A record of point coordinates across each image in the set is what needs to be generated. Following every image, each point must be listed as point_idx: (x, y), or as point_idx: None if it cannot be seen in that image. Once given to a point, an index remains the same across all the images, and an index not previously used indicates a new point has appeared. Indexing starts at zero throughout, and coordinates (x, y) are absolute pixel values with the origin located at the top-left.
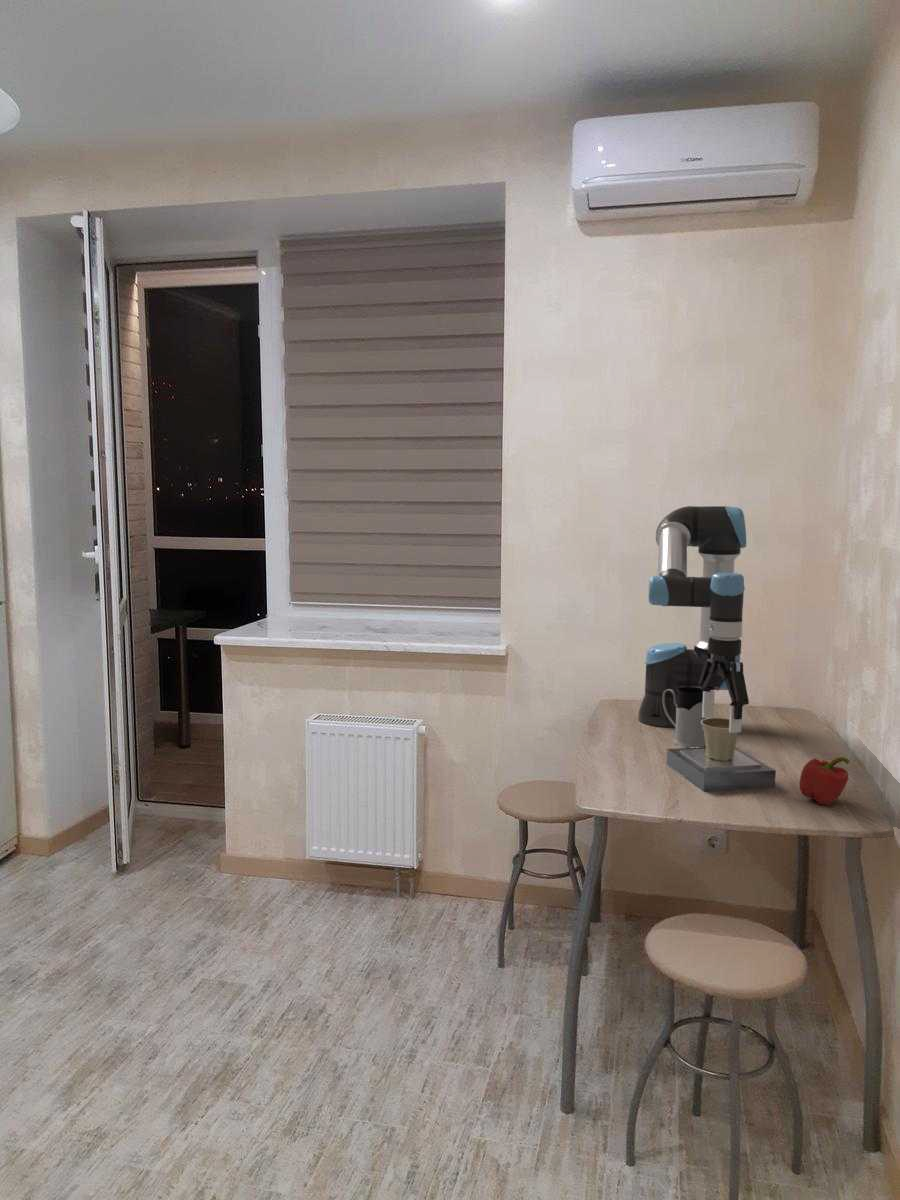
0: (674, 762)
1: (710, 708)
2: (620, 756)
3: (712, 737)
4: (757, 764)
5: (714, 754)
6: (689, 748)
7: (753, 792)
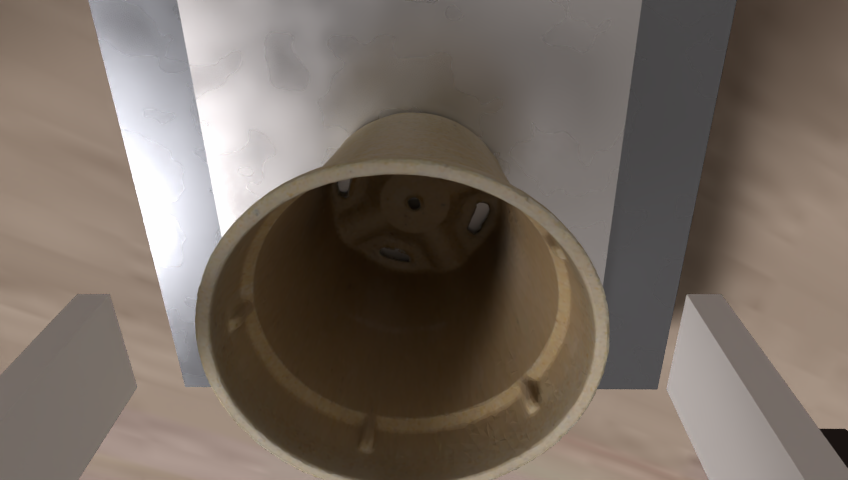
0: None
1: (67, 393)
2: (98, 463)
3: (481, 378)
4: (628, 5)
5: (473, 280)
6: (167, 270)
7: (736, 99)
